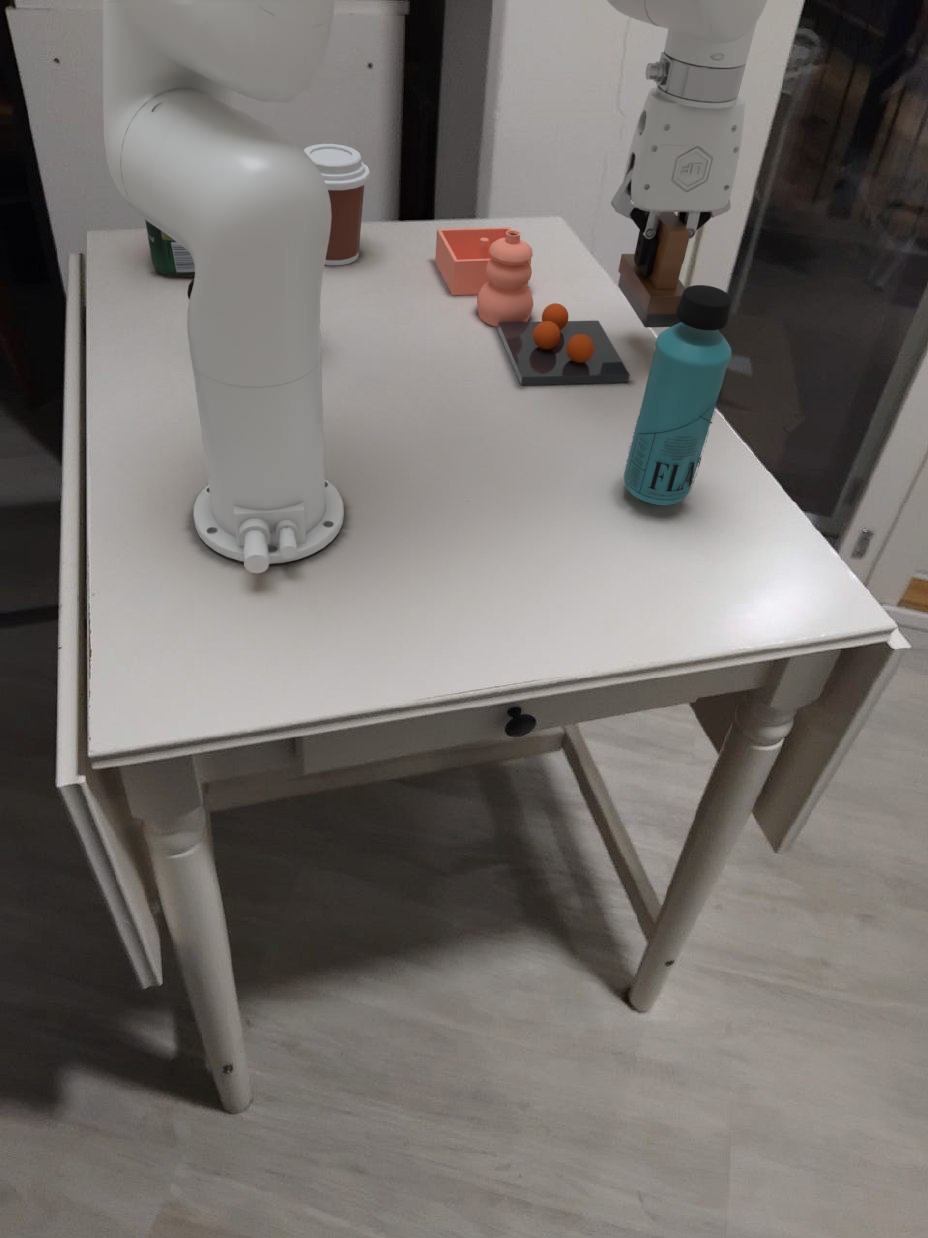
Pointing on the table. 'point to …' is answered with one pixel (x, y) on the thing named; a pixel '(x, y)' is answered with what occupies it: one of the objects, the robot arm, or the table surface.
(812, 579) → the table surface
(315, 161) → the coffee cup
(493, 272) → the pottery
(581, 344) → the felt ball
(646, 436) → the beverage bottle
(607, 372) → the slate tile
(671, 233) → the brush
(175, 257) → the coffee jar
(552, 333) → the felt ball
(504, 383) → the table surface
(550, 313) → the felt ball
